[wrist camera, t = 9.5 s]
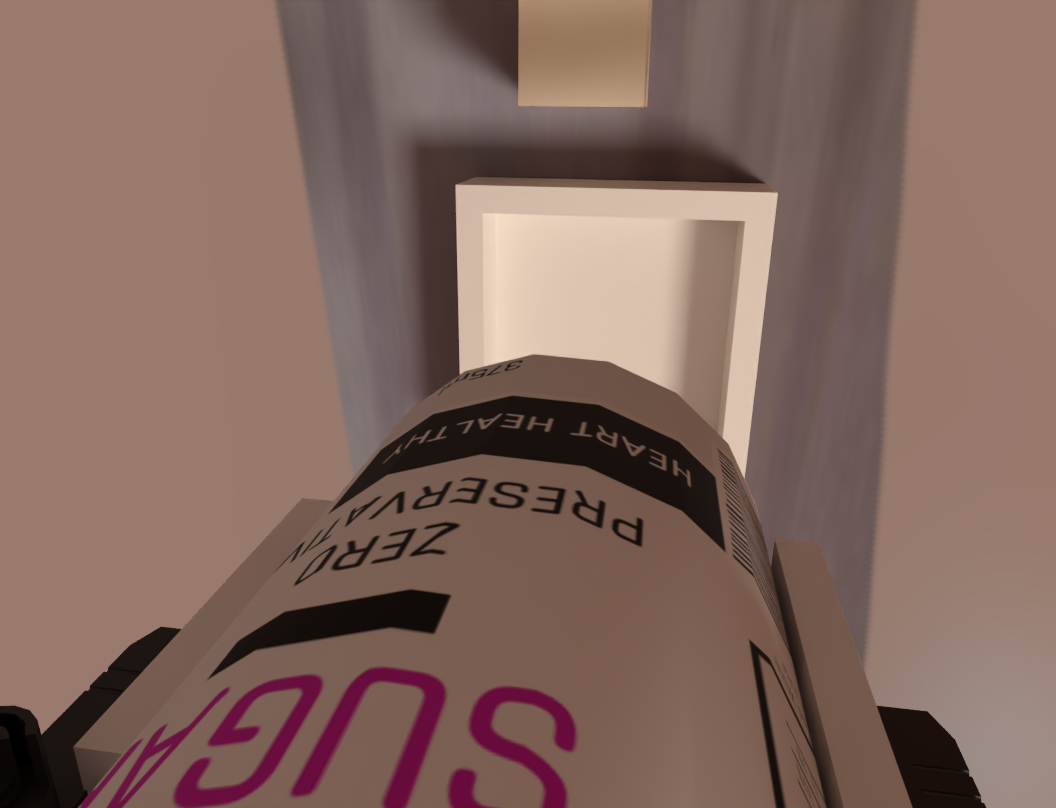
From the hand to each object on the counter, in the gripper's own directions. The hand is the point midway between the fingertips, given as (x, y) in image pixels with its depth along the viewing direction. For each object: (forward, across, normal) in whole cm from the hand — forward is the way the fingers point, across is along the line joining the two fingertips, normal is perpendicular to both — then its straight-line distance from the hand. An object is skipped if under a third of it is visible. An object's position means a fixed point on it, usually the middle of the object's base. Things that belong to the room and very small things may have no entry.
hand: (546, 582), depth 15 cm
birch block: (+20, -1, +10) cm, 23 cm away
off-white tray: (+20, 0, 0) cm, 20 cm away
